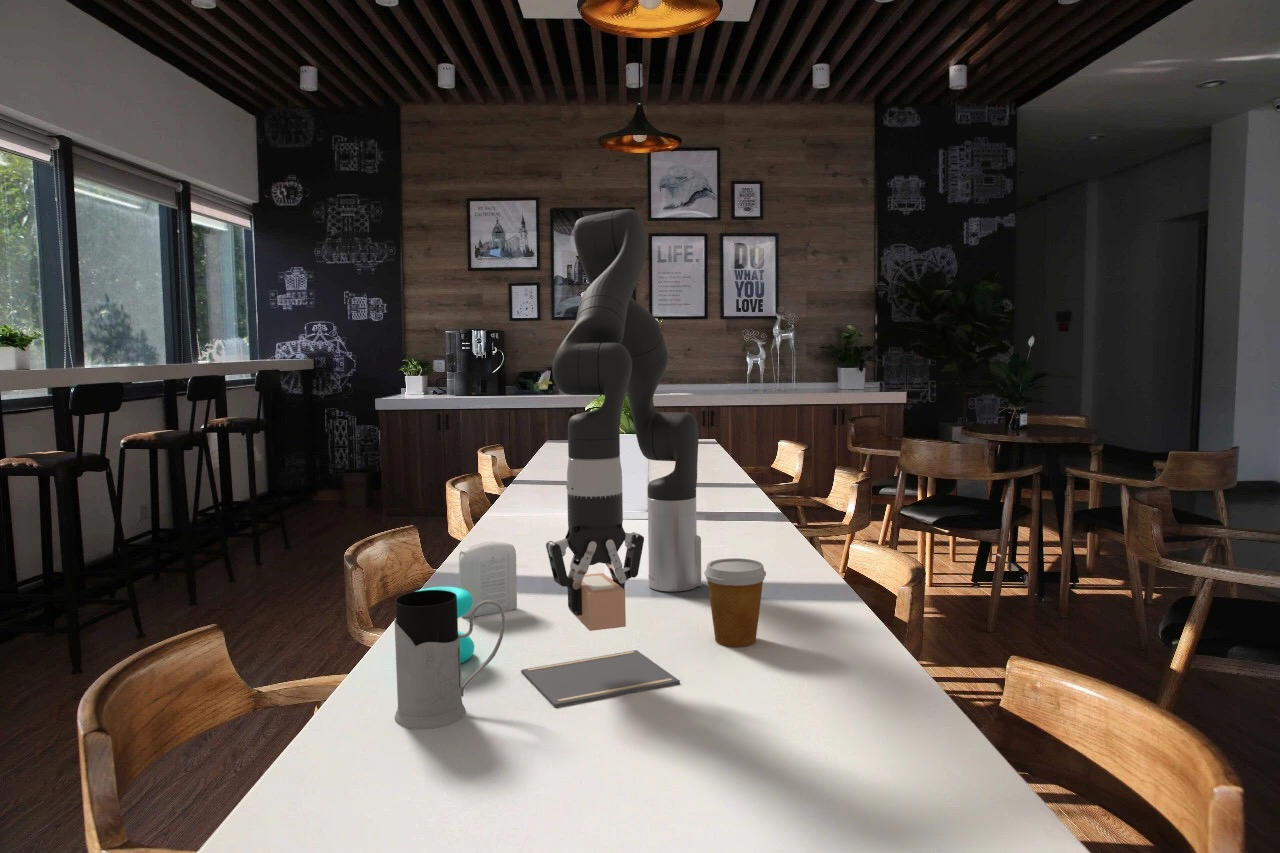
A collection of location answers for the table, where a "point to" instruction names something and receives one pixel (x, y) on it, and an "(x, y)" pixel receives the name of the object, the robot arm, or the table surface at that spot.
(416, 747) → the table surface
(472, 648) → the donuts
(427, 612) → the glass holder
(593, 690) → the mat
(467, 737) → the table surface
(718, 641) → the disposable coffee cup
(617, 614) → the card box
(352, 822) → the table surface
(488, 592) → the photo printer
